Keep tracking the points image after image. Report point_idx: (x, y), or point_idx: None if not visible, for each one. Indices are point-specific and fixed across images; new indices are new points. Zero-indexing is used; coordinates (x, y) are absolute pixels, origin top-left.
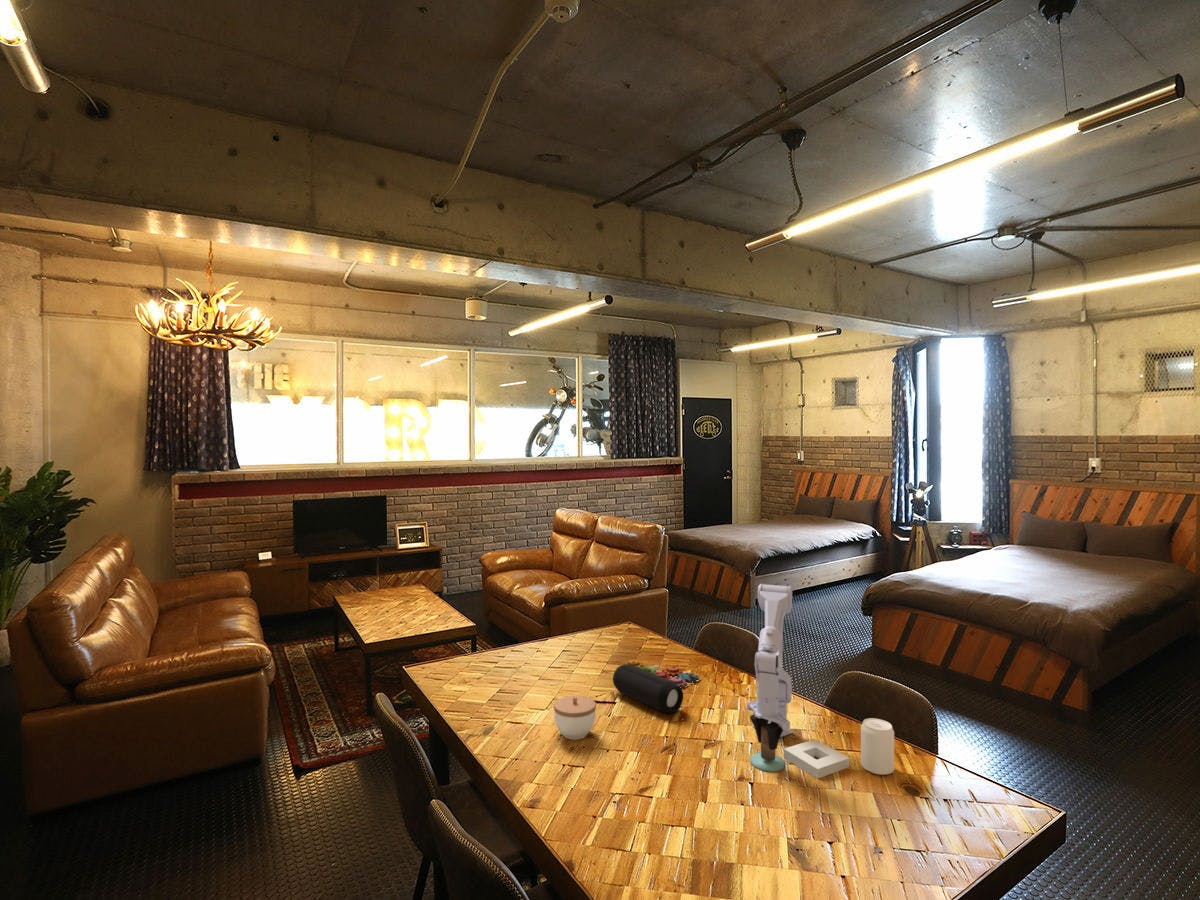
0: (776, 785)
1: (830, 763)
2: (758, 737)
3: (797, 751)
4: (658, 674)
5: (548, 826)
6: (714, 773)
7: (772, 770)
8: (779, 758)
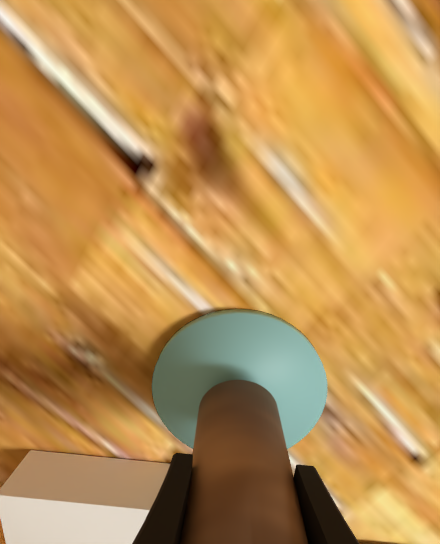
0: (58, 268)
1: None
2: (320, 508)
3: None
4: None
5: None
6: (356, 28)
7: (162, 350)
8: None
